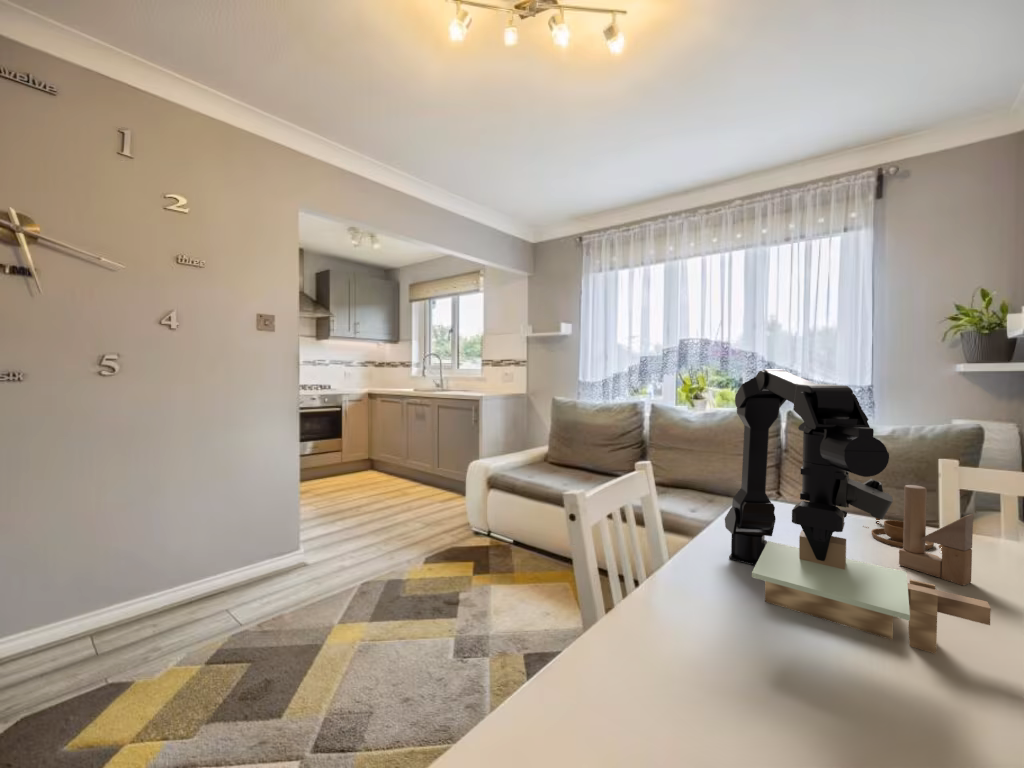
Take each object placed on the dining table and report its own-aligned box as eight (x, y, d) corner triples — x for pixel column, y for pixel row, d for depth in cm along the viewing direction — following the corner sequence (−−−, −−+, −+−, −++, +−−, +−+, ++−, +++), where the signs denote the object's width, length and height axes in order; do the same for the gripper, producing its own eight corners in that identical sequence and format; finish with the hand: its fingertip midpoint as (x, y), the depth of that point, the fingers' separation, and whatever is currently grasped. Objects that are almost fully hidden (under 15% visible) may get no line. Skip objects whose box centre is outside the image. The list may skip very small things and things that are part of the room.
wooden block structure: (963, 586, 88) (966, 497, 87) (898, 565, 97) (900, 485, 97) (972, 582, 89) (974, 495, 89) (906, 562, 99) (908, 483, 99)
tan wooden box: (764, 602, 81) (765, 554, 81) (776, 578, 91) (777, 535, 90) (936, 654, 66) (937, 595, 66) (929, 619, 76) (931, 568, 75)
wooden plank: (906, 604, 69) (907, 588, 69) (906, 597, 71) (906, 582, 71) (990, 625, 63) (990, 608, 63) (987, 618, 65) (987, 601, 65)
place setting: (851, 538, 115) (852, 516, 115) (870, 522, 128) (870, 502, 127) (944, 560, 101) (945, 535, 101) (955, 539, 114) (955, 517, 114)
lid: (751, 577, 69) (751, 548, 69) (767, 545, 79) (767, 519, 78) (909, 620, 57) (910, 586, 57) (906, 576, 67) (907, 547, 66)
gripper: (889, 481, 58) (886, 595, 59) (888, 460, 73) (886, 552, 73) (792, 469, 66) (790, 571, 66) (808, 452, 80) (806, 536, 80)
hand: (821, 557), depth 71 cm, fingers closed on lid, 3 cm apart
